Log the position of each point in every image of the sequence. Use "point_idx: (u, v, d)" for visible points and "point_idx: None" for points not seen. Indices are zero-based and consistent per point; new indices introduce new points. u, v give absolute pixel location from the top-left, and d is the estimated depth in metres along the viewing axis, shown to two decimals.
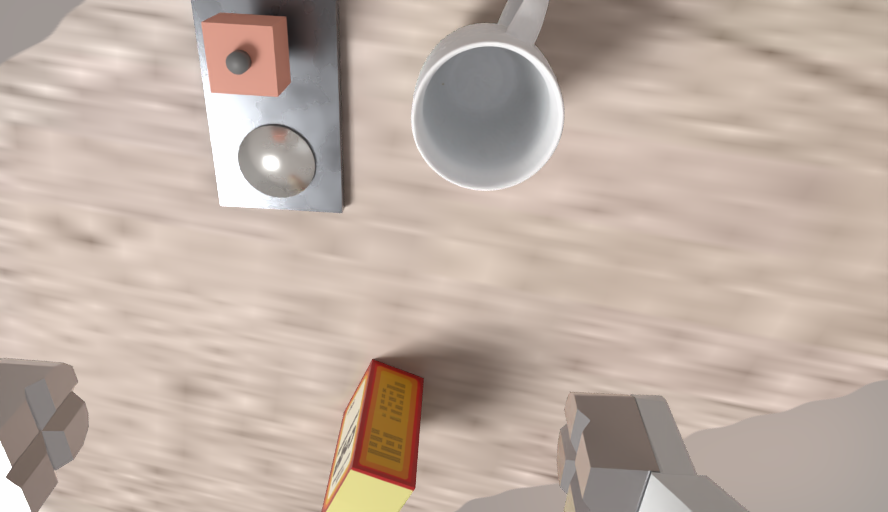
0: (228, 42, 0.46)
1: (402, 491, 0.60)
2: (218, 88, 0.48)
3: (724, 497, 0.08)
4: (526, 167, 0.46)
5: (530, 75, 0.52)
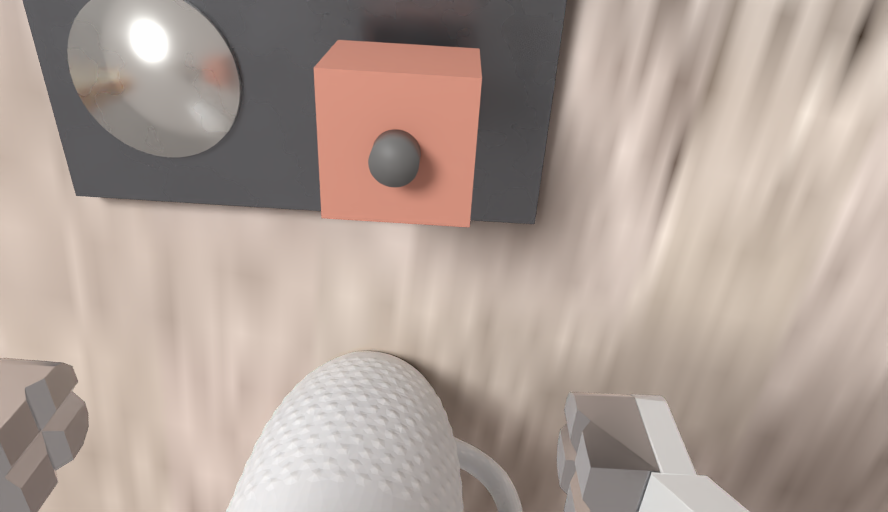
0: (435, 131, 0.20)
1: None
2: (326, 89, 0.19)
3: (724, 497, 0.08)
4: None
5: None
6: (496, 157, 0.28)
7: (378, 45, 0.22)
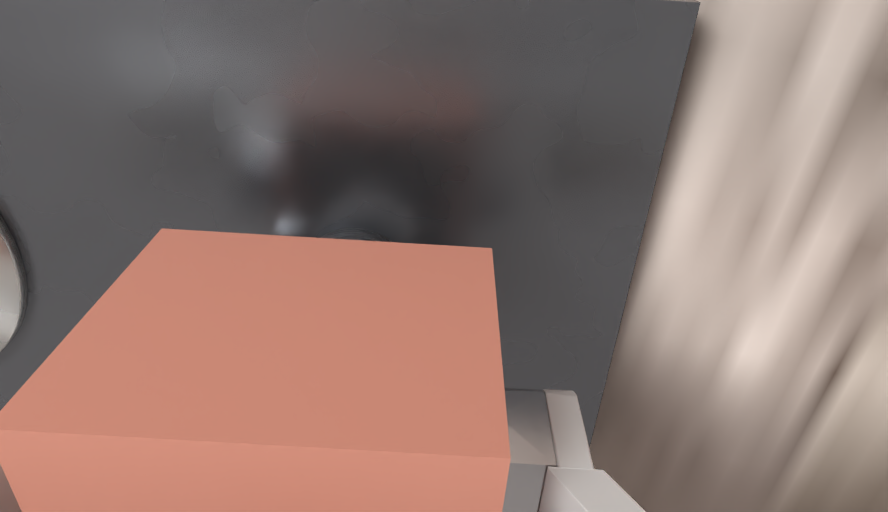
0: None
1: None
2: (40, 475, 0.06)
3: (617, 491, 0.08)
4: None
5: None
6: (517, 381, 0.15)
7: (250, 251, 0.09)
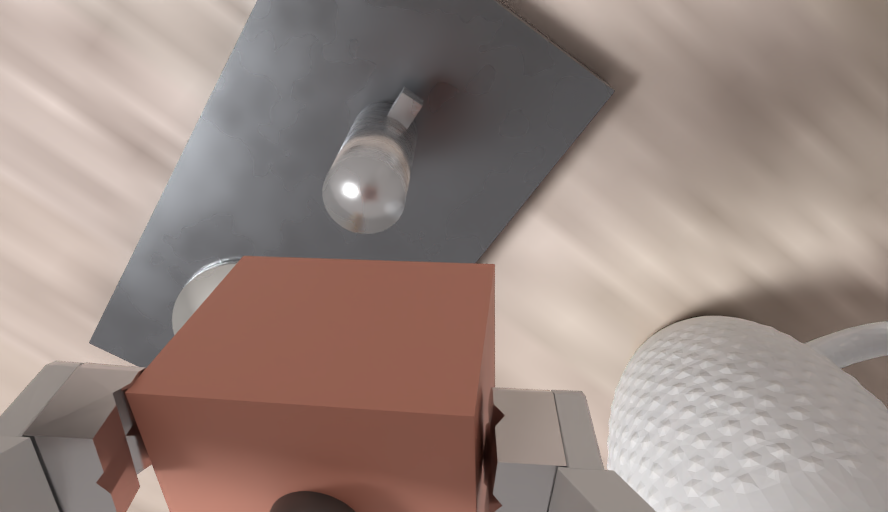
0: (388, 498, 0.10)
1: None
2: (159, 426, 0.09)
3: (627, 492, 0.08)
4: None
5: None
6: (506, 89, 0.22)
7: (306, 271, 0.12)
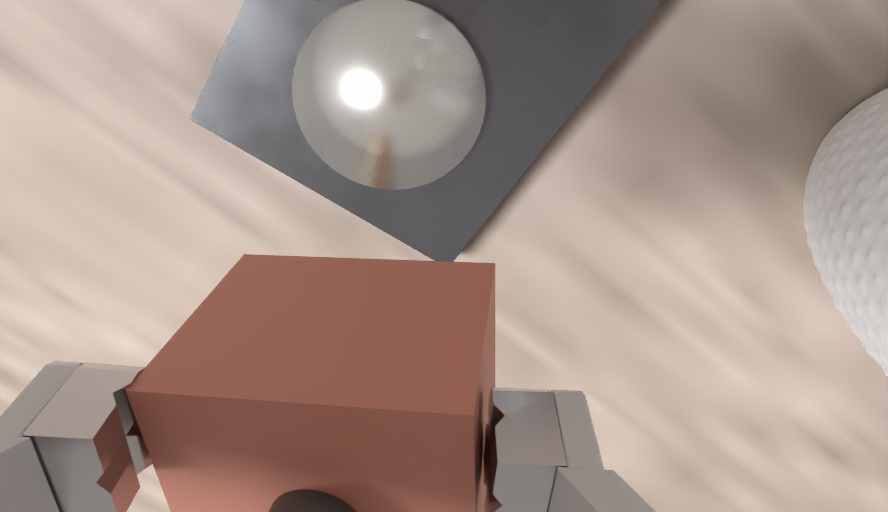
0: (388, 497, 0.10)
1: None
2: (159, 424, 0.09)
3: (627, 492, 0.08)
4: None
5: None
6: None
7: (307, 270, 0.12)
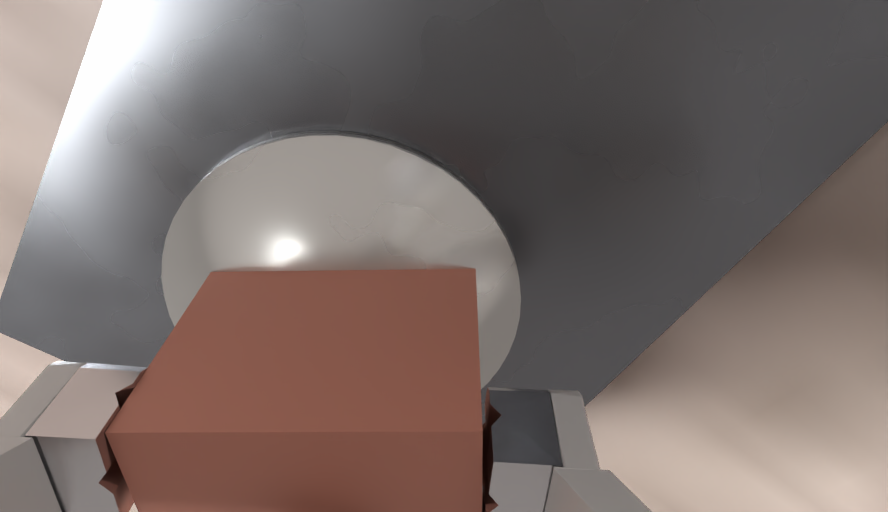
0: None
1: None
2: (144, 465, 0.09)
3: (623, 491, 0.08)
4: None
5: None
6: None
7: (282, 285, 0.12)
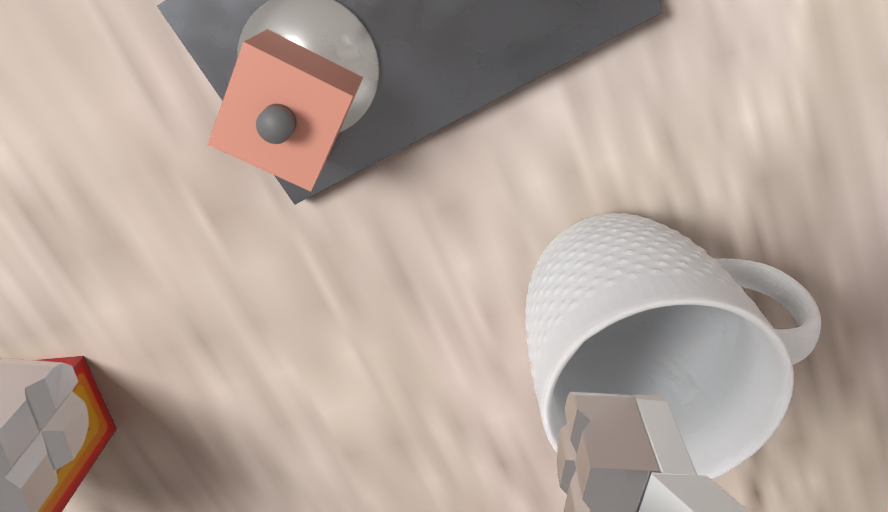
0: (310, 117, 0.29)
1: None
2: (246, 59, 0.27)
3: (725, 497, 0.08)
4: None
5: (646, 330, 0.38)
6: None
7: (294, 45, 0.31)
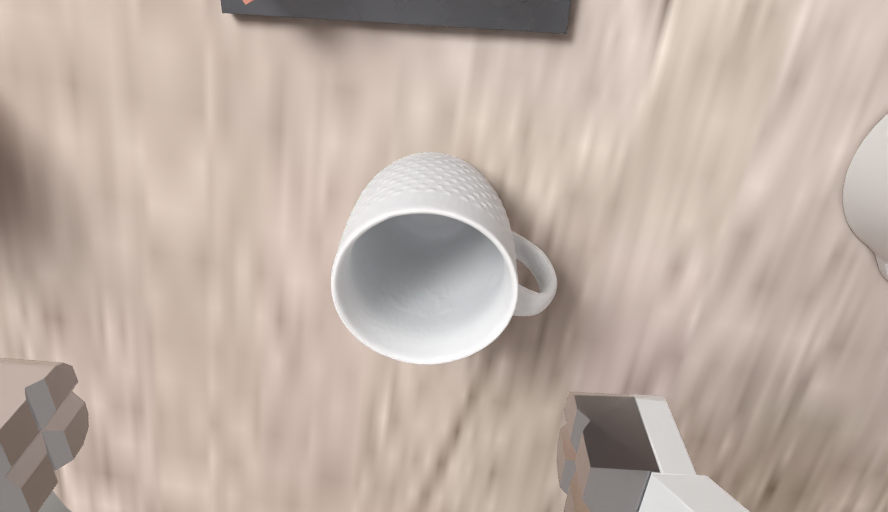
0: None
1: None
2: None
3: (724, 497, 0.08)
4: (364, 327, 0.38)
5: (440, 260, 0.47)
6: None
7: None
